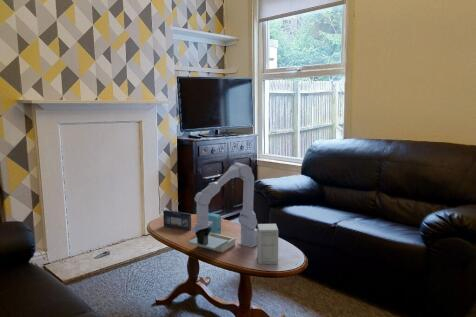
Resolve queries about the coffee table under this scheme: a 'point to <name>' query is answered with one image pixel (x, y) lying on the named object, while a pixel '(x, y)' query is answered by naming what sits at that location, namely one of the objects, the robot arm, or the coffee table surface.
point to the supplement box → (267, 243)
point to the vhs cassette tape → (177, 220)
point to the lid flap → (209, 242)
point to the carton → (226, 246)
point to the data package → (215, 223)
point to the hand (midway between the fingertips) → (202, 242)
